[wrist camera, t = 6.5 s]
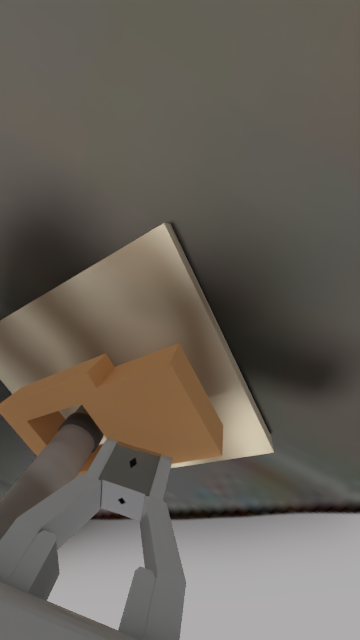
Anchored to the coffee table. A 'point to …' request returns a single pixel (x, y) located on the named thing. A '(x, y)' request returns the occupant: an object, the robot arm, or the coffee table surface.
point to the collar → (124, 406)
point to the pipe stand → (121, 354)
